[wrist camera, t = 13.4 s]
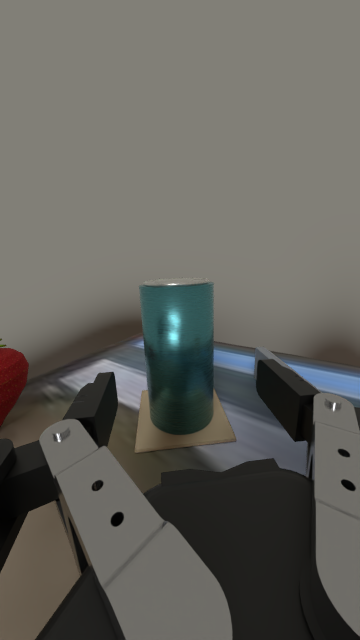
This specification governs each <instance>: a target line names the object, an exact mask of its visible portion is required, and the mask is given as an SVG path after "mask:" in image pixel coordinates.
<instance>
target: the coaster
mask: <svg viewBox="0 0 360 640" xmlns="http://www.w3.org/2000/svg"><path fill="white" fill-rule="evenodd" d="M232 441H236V437H235V434H234V432H233V430H232V428H231V425H230V423H229V421H228V419H227V417H226V414H225V412H224V410H223V408H222V405H221V403H220V401H219V399H218V396H217V394H216V392H215V390H214V388H213V418H212V420H211V422H210V423H209V424H208V425H207V426H206V427H205V428H204V429H202V430H200V431H198V432H195V433H192V434H187V435H174V434H169V433H166V432H163V431H161V430H159V429H158V428H157V427H156V426H155V425H154V424H153V423H152V421H151V418H150V409H149V397H148V390H144V391H142V395H141V403H140V411H139V419H138V427H137V436H136V444H135V453H138V452H147V451H155V450H164V449H172V448H181V447H190V446H198V445H207V444H215V443H224V442H232Z"/></svg>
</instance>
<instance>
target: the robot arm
mask: <svg viewBox="0 0 360 640" xmlns="http://www.w3.org/2000/svg"><path fill="white" fill-rule="evenodd" d="M256 389H257V392H258V395H259V396H260V398H261V399H262V400H263V401H264V403H265V404H266V405H267V407H268V408H269V409H270V410H271V412H272V413H273V414H274V416H275V417H276V418H277V419H278V421H279V422H280V423H281V425H282V426H283V427H284V429H285V430H286V431H287V432H288V434H289V435H290V436H291V438H292V439H293V440H294V441H295V442H297V441H305V440H306V441H307V442H308V444H307V454H306V474H305V476H304V475H302V474H299V473H297V472H294V471H291V470H286V469H281V468H279V467H278V465H277V463H276V462H275V460H274V458H271V459H264V460H256V461H248V462H245V463H243V464H240V465H238V466H235V467H233V468H231V469H228V470H226V471H223V472H211V471H202V470H194V469H187V470H179V471H171V472H163V473H161V482H162V483H161V484H159V485H157V486H155V487H153V488H151V489H150V490H148V491H147V492H145V493H144V494H142V493H141V491H140V490H139V489H138V487H137V486H136V485H135V483H134V482H133V481H132V480H131V478H130V477H129V476H128V474H127V473H126V472H125V470H124V469H123V468H122V467H121V465H120V464H119V463H118V461H117V460H116V459H115V457H114V456H113V455H112V454H111V452H110V451H109V450H108V448H107V446H108V442H109V438H110V434H111V431H112V427H113V423H114V419H115V416H116V412H117V407H118V398H117V390H116V382H115V375H114V372H106V373H98V375H97V377H96V379H95V381H94V383H88V384H87V385H86V386H84V387H83V388H82V389H81V390H80V391H79V393H78V395H77V397H76V398H75V400H74V401H73V403H72V405H71V406H70V408H69V410H68V411H67V413H66V415H65V416H64V418H63V420H62V421H59V422H57V423H55V424H53V425H51V426H49V427H48V428H47V429H46V430H45V431H44V432H43V433H42V434H41V436H40V439H39V440H38V441H35V442H32V443H29V444H26V445H23V446H20V447H17V448H14V446H13V442H12V441H11V440H9V439H0V572H1V570H2V568H3V566H4V564H5V561H6V559H7V557H8V555H9V553H10V551H11V548H12V546H13V544H14V542H15V540H16V538H17V535H18V533H19V531H20V529H21V527H22V525H23V522H24V520H25V518H26V516H27V514H28V512H29V511H31V510H33V509H36V508H38V507H40V506H43V505H45V504H47V503H50V502H52V501H55V504H56V507H57V510H58V512H59V515H60V518H61V521H62V523H63V526H64V529H65V532H66V534H67V537H68V540H69V543H70V546H71V549H72V552H73V555H74V559H75V562H76V565H77V568H78V571H79V574H80V578H79V579H78V580H77V582H76V583H75V585H74V586H73V587H72V589H71V590H70V592H69V593H68V594H67V596H66V597H65V599H64V600H63V601H62V603H61V604H60V606H59V607H58V608H57V610H56V611H55V612H54V614H53V615H52V617H51V618H50V619H49V621H48V622H47V624H46V625H45V626H44V628H43V629H42V631H41V632H40V633H39V635H38V636H37V638H36V639H35V640H360V408H356V407H354V406H353V405H352V404H351V403H350V402H349V401H348V400H346V399H344V398H342V397H340V396H337V395H334V394H330V393H321V392H319V391H318V390H317V389H316V388H314V387H313V386H312V385H310V384H309V383H308V382H307V381H304V379H303V378H302V377H299V375H298V374H296V373H295V372H294V371H293V370H291V369H288V368H286V367H284V366H281V365H280V364H279V363H278V362H277V361H275V360H274V359H261V360H258V363H257V378H256Z"/></svg>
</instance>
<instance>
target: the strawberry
mask: <svg viewBox="0 0 360 640" xmlns="http://www.w3.org/2000/svg"><path fill="white" fill-rule="evenodd" d="M1 340H2V339H0V341H1ZM4 346H6V345H0V347H4ZM28 366H29V364H28V362H27V360H26V359H25V357H24V355H23V354H22V353H21V352H18V351H16V350H14V349H11V348H0V426H1V425H2V423H3V421H4V419H5V418H6V416H7V415H8V413H9V412H10V410H11V409H12V408H13V406H14V405H15V403H16V401H17V399H18V398H19V396H20V394H21V392H22V390H23V388H24V387H25V385H26V382H27V374H28Z"/></svg>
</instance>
